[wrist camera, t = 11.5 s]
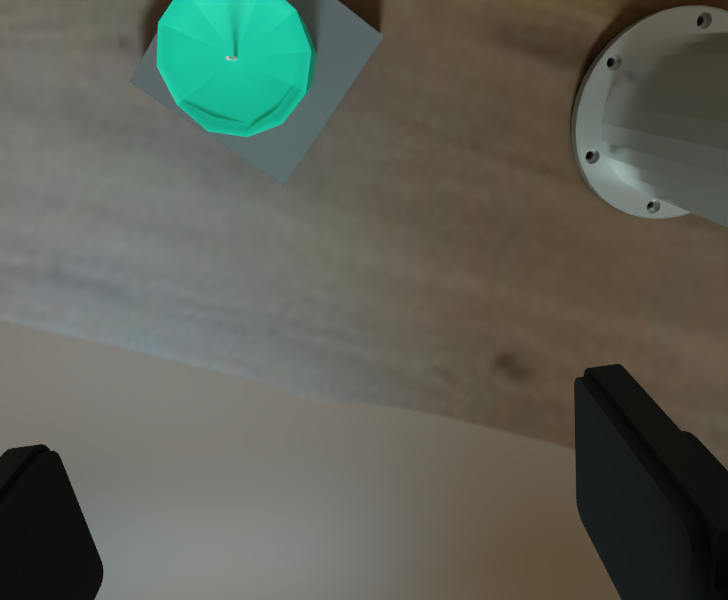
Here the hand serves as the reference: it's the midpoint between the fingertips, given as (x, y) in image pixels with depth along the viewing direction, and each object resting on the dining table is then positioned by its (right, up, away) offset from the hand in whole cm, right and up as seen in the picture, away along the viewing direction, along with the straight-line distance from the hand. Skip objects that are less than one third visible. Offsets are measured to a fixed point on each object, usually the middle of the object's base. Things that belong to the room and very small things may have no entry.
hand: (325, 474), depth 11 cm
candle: (-5, +16, +22) cm, 28 cm away
